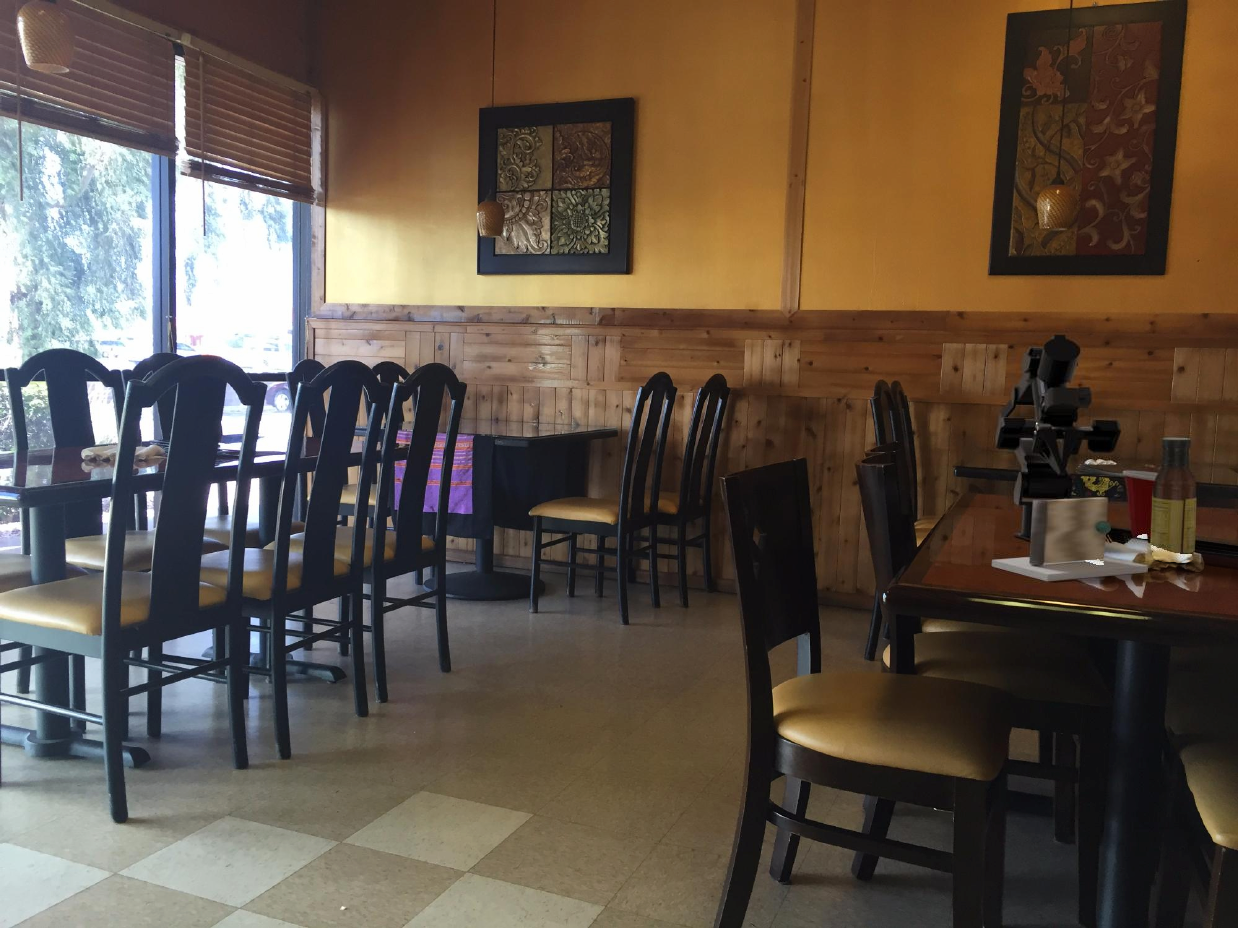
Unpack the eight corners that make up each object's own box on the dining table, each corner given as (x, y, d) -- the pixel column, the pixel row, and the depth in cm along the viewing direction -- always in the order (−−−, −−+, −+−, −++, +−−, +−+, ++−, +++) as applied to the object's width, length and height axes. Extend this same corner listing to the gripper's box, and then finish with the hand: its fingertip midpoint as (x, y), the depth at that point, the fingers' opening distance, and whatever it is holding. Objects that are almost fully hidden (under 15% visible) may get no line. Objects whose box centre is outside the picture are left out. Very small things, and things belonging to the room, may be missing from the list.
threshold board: (1047, 581, 142) (1047, 574, 142) (991, 566, 152) (992, 559, 152) (1147, 572, 149) (1147, 565, 149) (1088, 558, 159) (1088, 552, 159)
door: (1044, 567, 145) (1048, 503, 144) (1026, 562, 148) (1029, 500, 147) (1114, 561, 151) (1119, 499, 150) (1096, 557, 154) (1099, 496, 153)
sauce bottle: (1182, 557, 161) (1191, 437, 159) (1201, 565, 155) (1210, 440, 153) (1140, 556, 162) (1149, 436, 160) (1157, 564, 156) (1166, 439, 154)
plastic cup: (1185, 546, 172) (1190, 478, 171) (1116, 539, 178) (1120, 473, 176) (1185, 537, 181) (1190, 472, 180) (1120, 531, 187) (1124, 468, 186)
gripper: (1002, 369, 166) (1009, 439, 156) (1122, 371, 162) (1137, 443, 152) (992, 413, 174) (998, 482, 165) (1106, 416, 170) (1119, 487, 161)
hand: (1062, 473), depth 160 cm, fingers closed
